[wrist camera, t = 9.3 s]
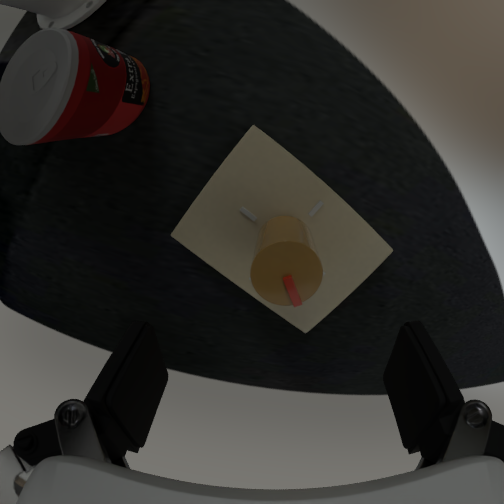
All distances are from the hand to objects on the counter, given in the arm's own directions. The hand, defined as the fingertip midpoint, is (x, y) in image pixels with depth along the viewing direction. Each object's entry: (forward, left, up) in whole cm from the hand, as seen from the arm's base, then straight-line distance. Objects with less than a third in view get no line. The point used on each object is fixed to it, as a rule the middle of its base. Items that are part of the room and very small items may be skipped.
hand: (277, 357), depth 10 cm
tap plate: (+1, 0, -15) cm, 15 cm away
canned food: (-18, -6, -15) cm, 25 cm away
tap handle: (+1, 0, -13) cm, 13 cm away
